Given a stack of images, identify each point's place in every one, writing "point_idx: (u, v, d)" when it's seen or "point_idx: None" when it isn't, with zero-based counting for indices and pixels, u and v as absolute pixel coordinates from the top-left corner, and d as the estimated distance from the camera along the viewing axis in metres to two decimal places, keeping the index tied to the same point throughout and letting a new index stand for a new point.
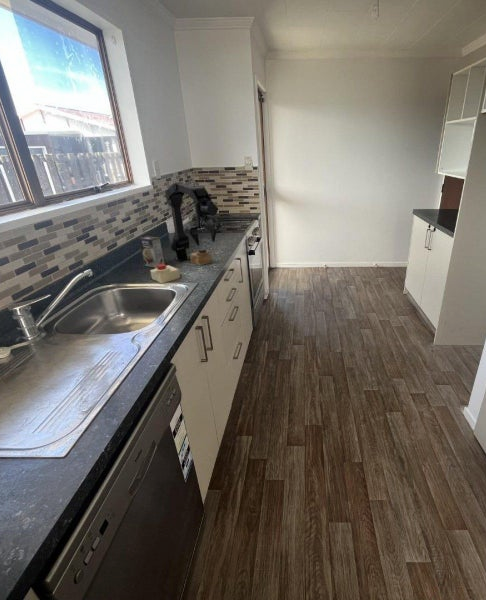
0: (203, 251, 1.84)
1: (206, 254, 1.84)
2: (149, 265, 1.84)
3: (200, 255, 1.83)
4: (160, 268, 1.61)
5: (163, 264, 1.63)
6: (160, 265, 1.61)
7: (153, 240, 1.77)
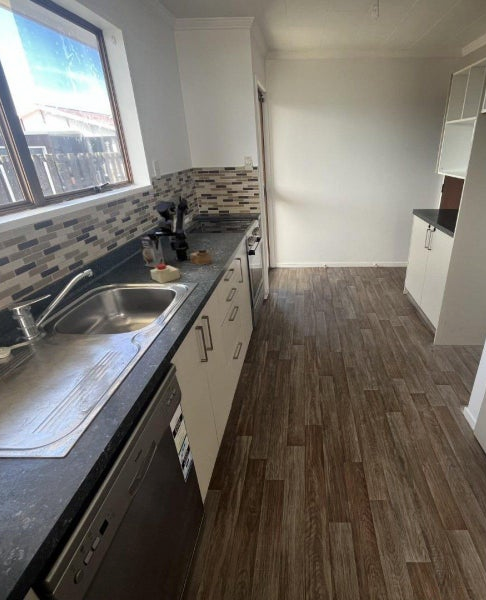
0: (203, 251, 1.84)
1: (206, 254, 1.84)
2: (149, 265, 1.84)
3: (200, 255, 1.83)
4: (160, 268, 1.61)
5: (163, 264, 1.63)
6: (160, 265, 1.61)
7: None
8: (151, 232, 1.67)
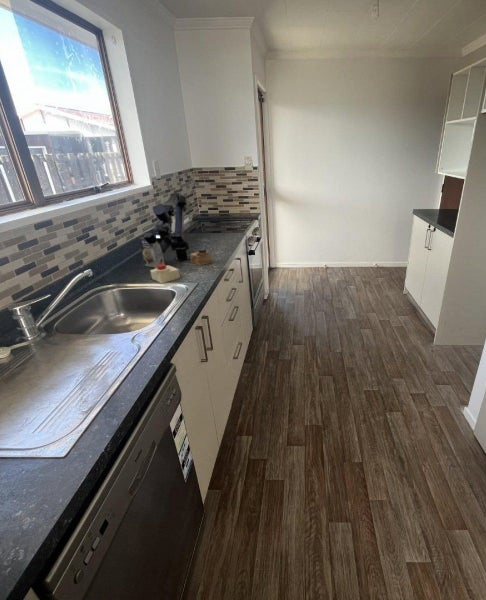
0: (203, 251, 1.84)
1: (206, 254, 1.84)
2: (149, 265, 1.84)
3: (200, 255, 1.83)
4: (160, 268, 1.61)
5: (163, 264, 1.63)
6: (160, 265, 1.61)
7: None
8: (148, 235, 1.65)
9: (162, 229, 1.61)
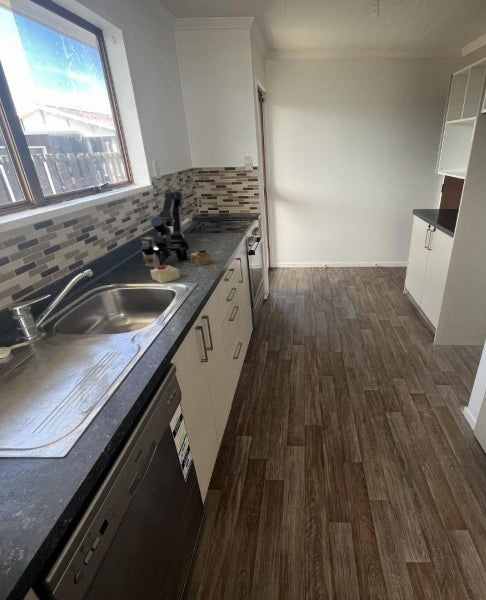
0: (203, 251, 1.84)
1: (206, 254, 1.84)
2: (149, 265, 1.84)
3: (200, 255, 1.83)
4: (160, 268, 1.61)
5: (163, 264, 1.63)
6: (160, 265, 1.61)
7: None
8: (146, 247, 1.61)
9: (160, 241, 1.58)
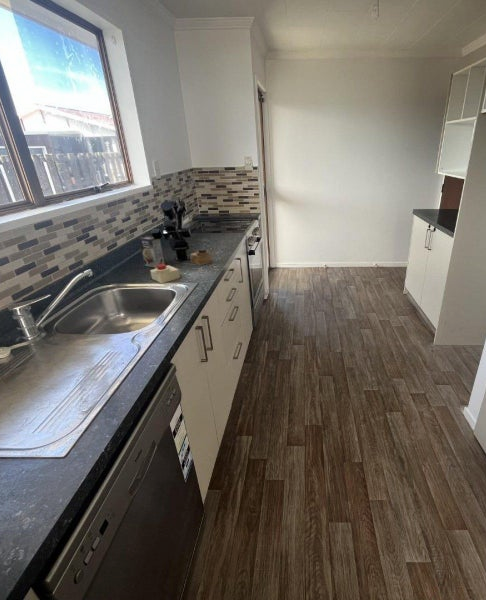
0: (203, 251, 1.84)
1: (206, 254, 1.84)
2: (149, 265, 1.84)
3: (200, 255, 1.83)
4: (160, 268, 1.61)
5: (163, 264, 1.63)
6: (160, 265, 1.61)
7: (153, 240, 1.77)
8: (156, 231, 1.68)
9: (171, 224, 1.66)
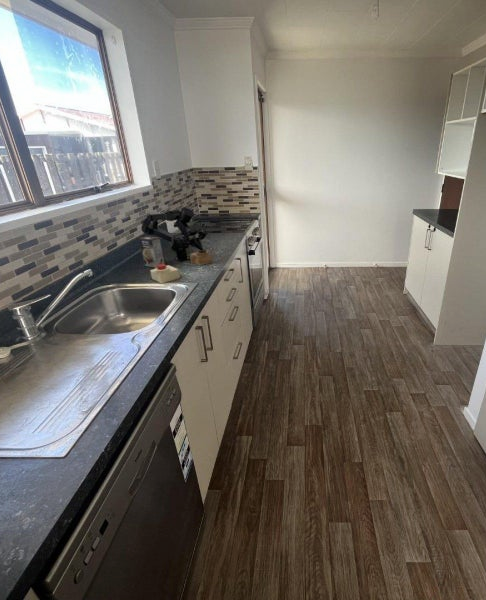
0: (203, 252, 1.84)
1: (206, 254, 1.84)
2: (149, 265, 1.84)
3: (200, 255, 1.83)
4: (160, 268, 1.61)
5: (163, 264, 1.63)
6: (160, 265, 1.61)
7: (153, 240, 1.77)
8: (186, 237, 1.78)
9: (200, 228, 1.82)
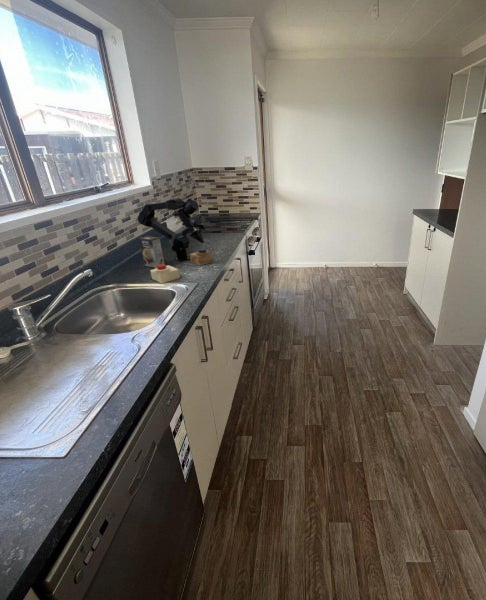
0: (203, 251, 1.84)
1: (206, 254, 1.84)
2: (149, 265, 1.84)
3: (200, 255, 1.83)
4: (160, 268, 1.61)
5: (163, 264, 1.63)
6: (160, 265, 1.61)
7: (153, 240, 1.77)
8: (192, 228, 1.77)
9: (204, 221, 1.83)
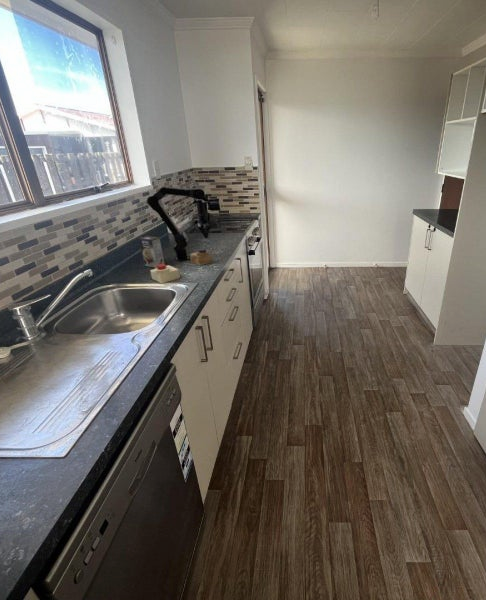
0: (203, 251, 1.84)
1: (206, 254, 1.84)
2: (149, 265, 1.84)
3: (200, 255, 1.83)
4: (160, 268, 1.61)
5: (163, 264, 1.63)
6: (160, 265, 1.61)
7: (153, 240, 1.77)
8: None
9: None
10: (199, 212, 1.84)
